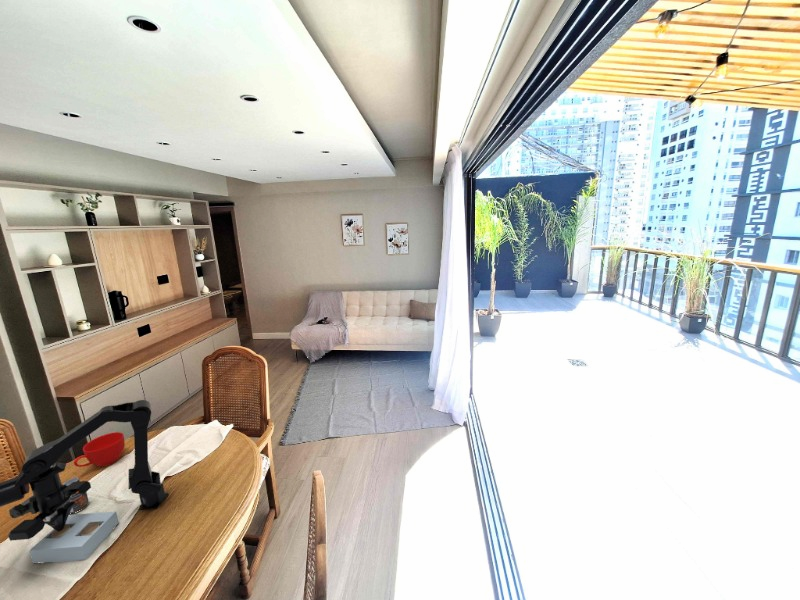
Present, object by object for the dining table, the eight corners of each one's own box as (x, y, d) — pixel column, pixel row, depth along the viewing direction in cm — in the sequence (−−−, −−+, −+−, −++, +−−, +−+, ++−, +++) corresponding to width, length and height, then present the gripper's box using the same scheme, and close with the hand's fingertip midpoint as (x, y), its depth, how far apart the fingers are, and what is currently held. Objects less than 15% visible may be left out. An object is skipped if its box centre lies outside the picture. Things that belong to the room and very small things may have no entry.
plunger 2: (105, 532, 99) (102, 521, 98) (93, 544, 95) (90, 533, 94) (92, 533, 99) (89, 522, 98) (80, 545, 95) (77, 534, 94)
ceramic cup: (68, 475, 126) (62, 454, 124) (116, 449, 142) (111, 430, 140) (88, 482, 122) (82, 460, 120) (135, 453, 138) (130, 434, 136)
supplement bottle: (74, 516, 107) (66, 489, 104) (61, 513, 108) (53, 487, 106) (93, 502, 112) (86, 476, 110) (81, 500, 114) (74, 474, 111)
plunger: (76, 534, 99) (73, 523, 98) (63, 546, 95) (60, 535, 94) (63, 535, 99) (60, 524, 98) (50, 547, 95) (46, 536, 94)
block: (119, 523, 103) (116, 511, 102) (85, 559, 92) (81, 546, 91) (73, 527, 103) (69, 514, 102) (33, 564, 91) (28, 550, 90)
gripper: (52, 467, 101) (64, 506, 105) (-20, 517, 83) (-4, 563, 86) (87, 465, 102) (97, 504, 105) (22, 514, 84) (37, 559, 87)
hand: (60, 530), depth 96 cm, fingers closed, pressing on plunger
